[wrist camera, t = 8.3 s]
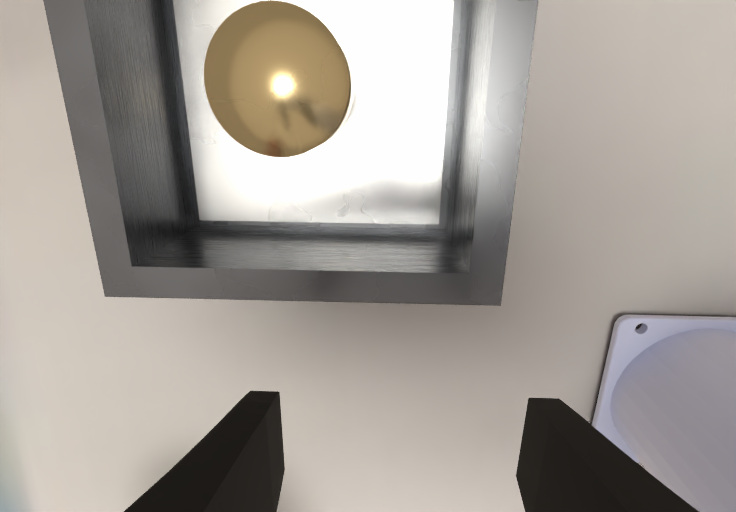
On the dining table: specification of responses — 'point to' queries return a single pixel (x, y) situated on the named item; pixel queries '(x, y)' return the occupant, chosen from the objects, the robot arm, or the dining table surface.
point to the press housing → (283, 239)
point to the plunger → (316, 108)
